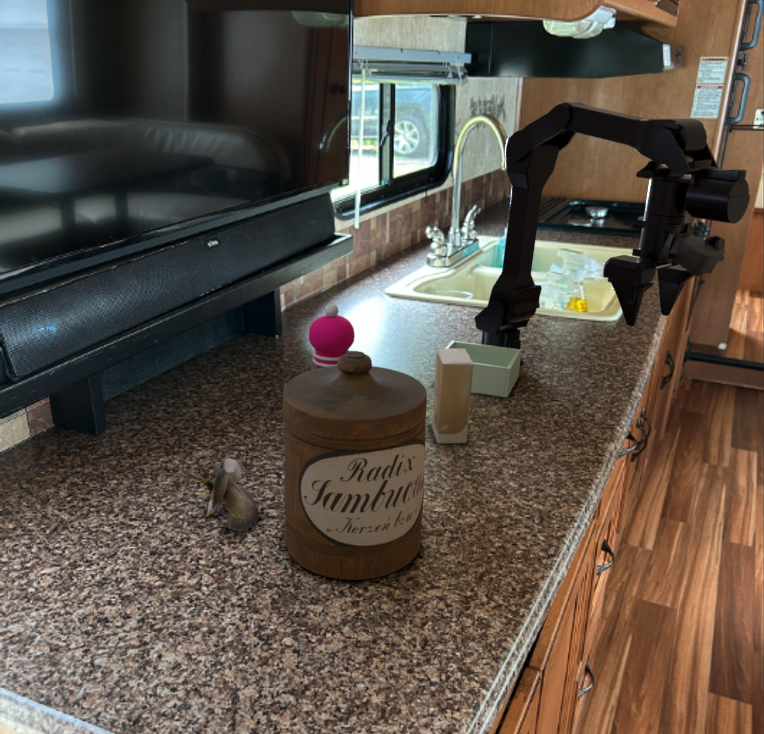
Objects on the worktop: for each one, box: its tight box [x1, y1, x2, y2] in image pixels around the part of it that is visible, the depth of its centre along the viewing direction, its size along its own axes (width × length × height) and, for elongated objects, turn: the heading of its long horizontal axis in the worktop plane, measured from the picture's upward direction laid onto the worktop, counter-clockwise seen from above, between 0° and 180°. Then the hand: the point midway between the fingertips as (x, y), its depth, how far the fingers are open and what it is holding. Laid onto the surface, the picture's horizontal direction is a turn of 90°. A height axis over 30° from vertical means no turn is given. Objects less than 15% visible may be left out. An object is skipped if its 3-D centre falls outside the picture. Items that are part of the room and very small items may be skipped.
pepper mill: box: [308, 303, 356, 369], centre depth 103 cm, size 7×7×20 cm
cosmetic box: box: [431, 348, 473, 444], centre depth 108 cm, size 6×4×12 cm
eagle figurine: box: [182, 457, 260, 533], centre depth 89 cm, size 8×7×9 cm
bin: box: [444, 340, 522, 399], centre depth 129 cm, size 12×10×5 cm
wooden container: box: [282, 350, 428, 581], centre depth 80 cm, size 15×15×22 cm
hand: (648, 320), depth 115 cm, fingers open, 9 cm apart
